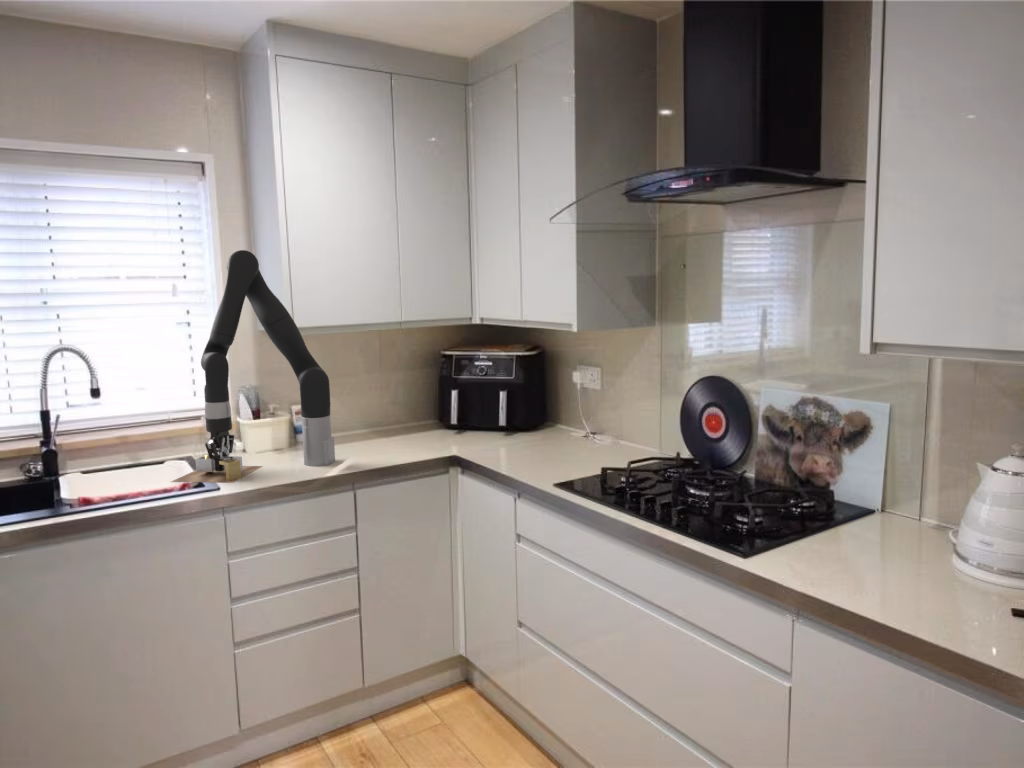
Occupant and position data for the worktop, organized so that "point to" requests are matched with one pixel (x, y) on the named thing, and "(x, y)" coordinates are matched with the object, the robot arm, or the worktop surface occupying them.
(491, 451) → the worktop surface
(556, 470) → the worktop surface
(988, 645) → the worktop surface
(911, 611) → the worktop surface
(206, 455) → the cylinder
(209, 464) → the link
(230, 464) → the block
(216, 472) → the board
